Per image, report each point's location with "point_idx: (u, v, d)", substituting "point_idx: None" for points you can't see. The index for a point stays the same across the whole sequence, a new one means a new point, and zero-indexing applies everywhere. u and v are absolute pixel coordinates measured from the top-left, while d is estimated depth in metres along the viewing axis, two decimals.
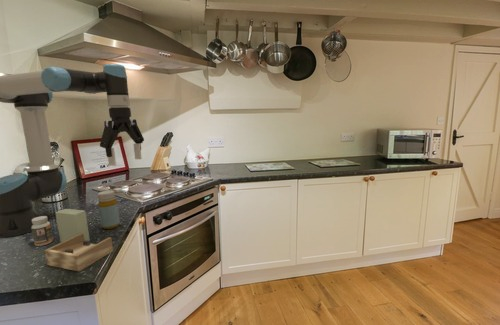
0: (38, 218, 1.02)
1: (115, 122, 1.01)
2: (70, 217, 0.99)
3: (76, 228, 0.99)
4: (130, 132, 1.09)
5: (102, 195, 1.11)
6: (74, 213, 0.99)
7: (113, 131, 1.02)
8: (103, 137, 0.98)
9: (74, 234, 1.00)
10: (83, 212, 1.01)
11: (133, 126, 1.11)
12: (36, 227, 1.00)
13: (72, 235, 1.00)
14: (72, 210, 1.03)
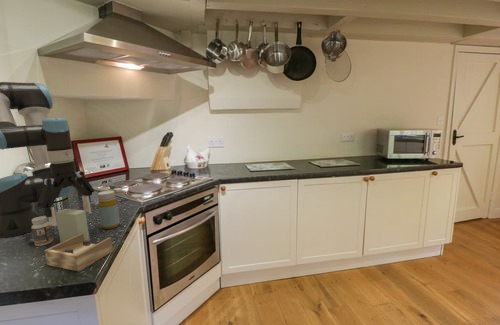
0: (38, 218, 1.02)
1: (56, 179, 0.95)
2: (70, 217, 0.99)
3: (76, 228, 0.99)
4: (76, 186, 1.03)
5: (102, 195, 1.11)
6: (74, 213, 0.99)
7: (54, 188, 0.96)
8: (41, 197, 0.92)
9: (74, 234, 1.00)
10: (83, 212, 1.01)
11: (80, 178, 1.05)
12: (36, 227, 1.00)
13: (72, 235, 1.00)
14: (72, 210, 1.03)
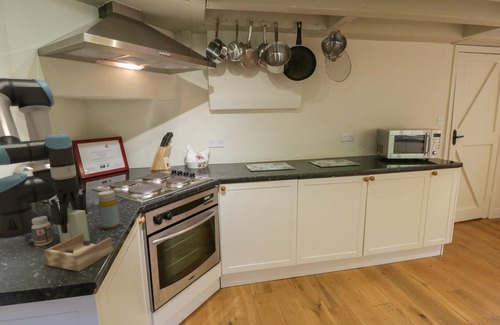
0: (38, 218, 1.02)
1: (58, 196, 0.96)
2: (70, 216, 0.99)
3: (76, 228, 0.99)
4: (74, 203, 1.02)
5: (102, 195, 1.11)
6: (74, 213, 0.99)
7: (61, 205, 0.99)
8: (54, 216, 0.96)
9: (74, 234, 1.00)
10: (83, 212, 1.01)
11: (80, 196, 1.05)
12: (36, 227, 1.00)
13: (72, 235, 1.00)
14: (72, 210, 1.03)
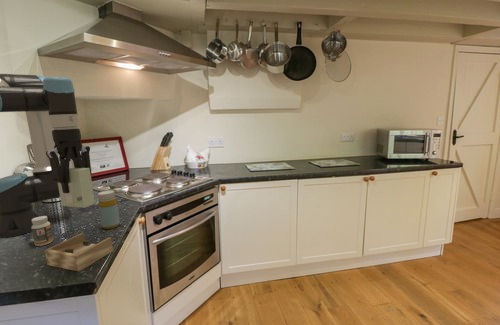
0: (38, 218, 1.02)
1: (59, 149, 0.83)
2: (72, 174, 0.86)
3: (79, 187, 0.86)
4: (76, 160, 0.89)
5: (102, 195, 1.11)
6: (77, 170, 0.86)
7: (62, 161, 0.86)
8: (53, 172, 0.83)
9: (77, 194, 0.87)
10: (87, 169, 0.88)
11: (83, 154, 0.92)
12: (36, 227, 1.00)
13: (75, 196, 0.87)
14: (75, 168, 0.89)
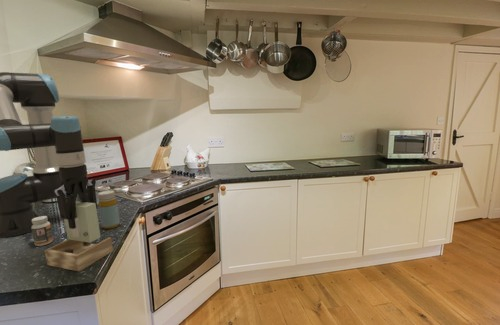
0: (38, 218, 1.02)
1: (66, 186, 0.85)
2: (78, 210, 0.88)
3: (86, 223, 0.88)
4: (83, 195, 0.91)
5: (102, 195, 1.11)
6: (83, 206, 0.88)
7: (69, 197, 0.87)
8: (60, 209, 0.85)
9: (83, 229, 0.88)
10: (93, 205, 0.90)
11: (89, 187, 0.94)
12: (36, 227, 1.00)
13: (81, 231, 0.89)
14: (81, 203, 0.91)
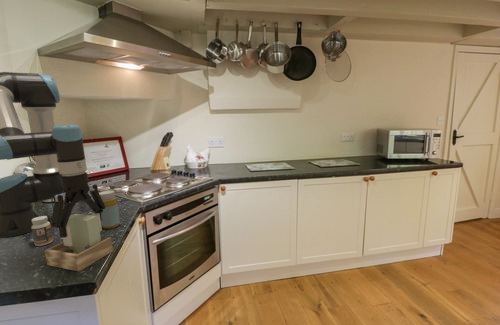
0: (38, 218, 1.02)
1: (67, 194, 0.85)
2: (81, 223, 0.88)
3: (88, 236, 0.88)
4: (87, 201, 0.92)
5: (102, 195, 1.11)
6: (85, 219, 0.88)
7: (66, 204, 0.86)
8: (54, 216, 0.83)
9: (85, 242, 0.89)
10: (95, 218, 0.90)
11: (92, 192, 0.95)
12: (36, 227, 1.00)
13: (83, 244, 0.90)
14: (83, 215, 0.92)
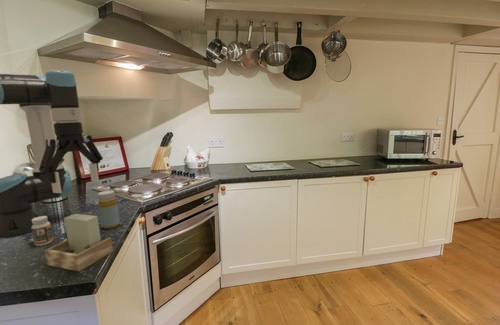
0: (38, 218, 1.02)
1: (60, 141, 0.84)
2: (81, 223, 0.88)
3: (88, 236, 0.88)
4: (83, 151, 0.92)
5: (102, 195, 1.11)
6: (85, 219, 0.88)
7: (58, 151, 0.85)
8: (43, 160, 0.81)
9: (85, 242, 0.89)
10: (95, 218, 0.90)
11: (88, 143, 0.94)
12: (36, 227, 1.00)
13: (83, 244, 0.90)
14: (83, 215, 0.92)
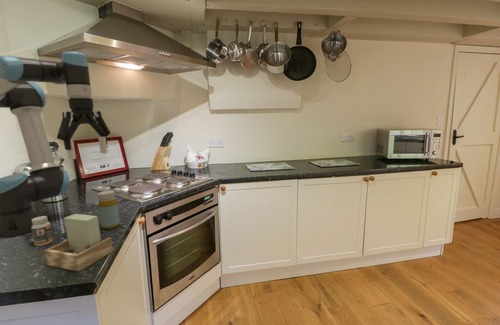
0: (38, 218, 1.02)
1: (75, 113, 0.96)
2: (81, 223, 0.88)
3: (88, 236, 0.88)
4: (93, 124, 1.04)
5: (102, 195, 1.11)
6: (85, 219, 0.88)
7: (73, 123, 0.97)
8: (60, 129, 0.93)
9: (85, 242, 0.89)
10: (95, 218, 0.90)
11: (97, 118, 1.06)
12: (36, 227, 1.00)
13: (83, 244, 0.90)
14: (83, 215, 0.92)
